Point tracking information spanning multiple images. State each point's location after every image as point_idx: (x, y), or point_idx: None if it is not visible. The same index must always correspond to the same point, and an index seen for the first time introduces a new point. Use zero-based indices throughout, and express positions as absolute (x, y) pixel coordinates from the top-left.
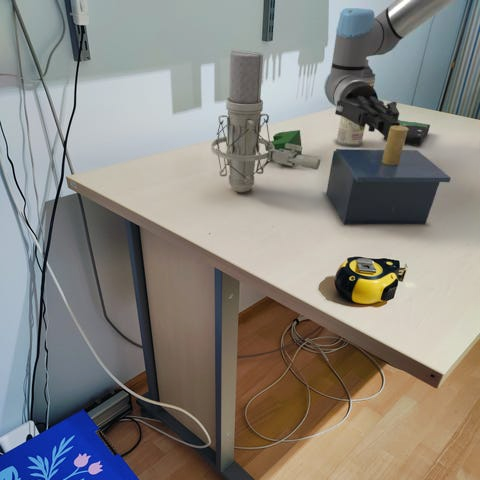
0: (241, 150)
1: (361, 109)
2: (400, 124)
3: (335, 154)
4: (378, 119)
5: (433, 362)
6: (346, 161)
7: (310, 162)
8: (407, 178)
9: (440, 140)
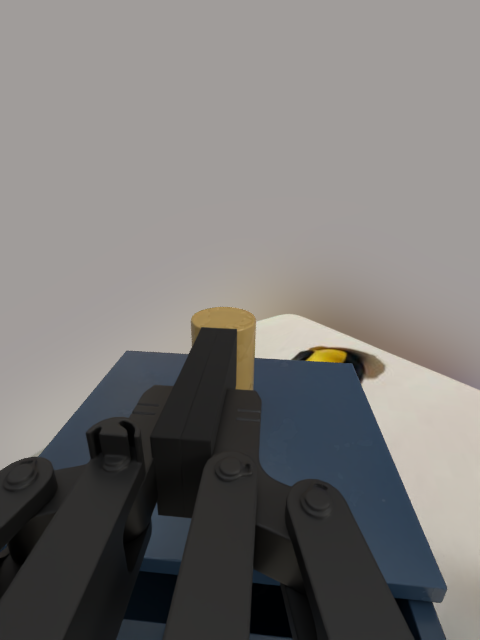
0: None
1: (338, 619)
2: None
3: (439, 626)
4: (241, 418)
5: (293, 315)
6: (381, 437)
7: None
8: None
9: None
